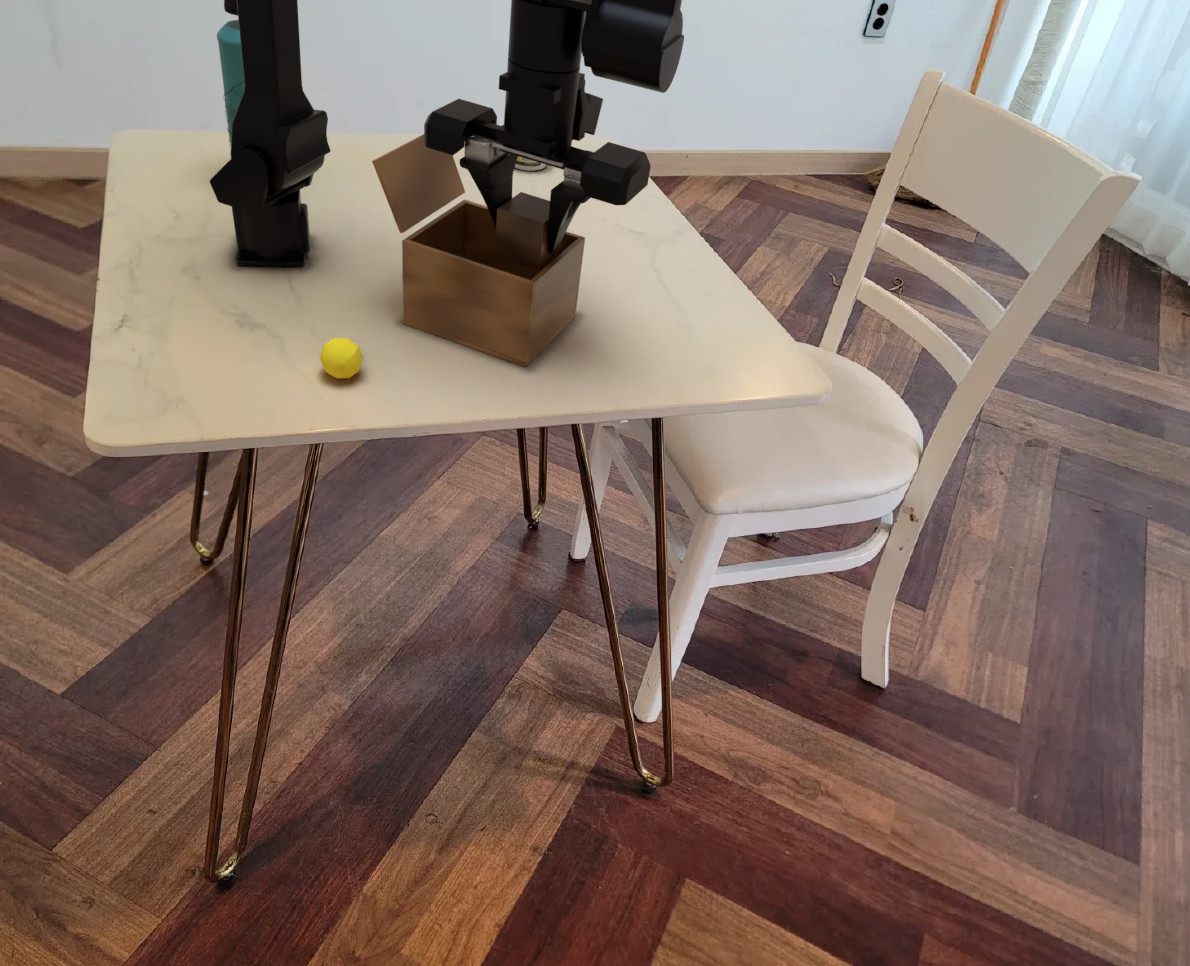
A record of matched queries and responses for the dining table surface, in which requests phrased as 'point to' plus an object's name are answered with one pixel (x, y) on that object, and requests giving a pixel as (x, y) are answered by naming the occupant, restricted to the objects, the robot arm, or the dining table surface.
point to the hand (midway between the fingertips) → (528, 244)
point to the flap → (417, 181)
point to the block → (524, 231)
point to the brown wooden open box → (486, 287)
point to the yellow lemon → (341, 358)
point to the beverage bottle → (231, 63)
